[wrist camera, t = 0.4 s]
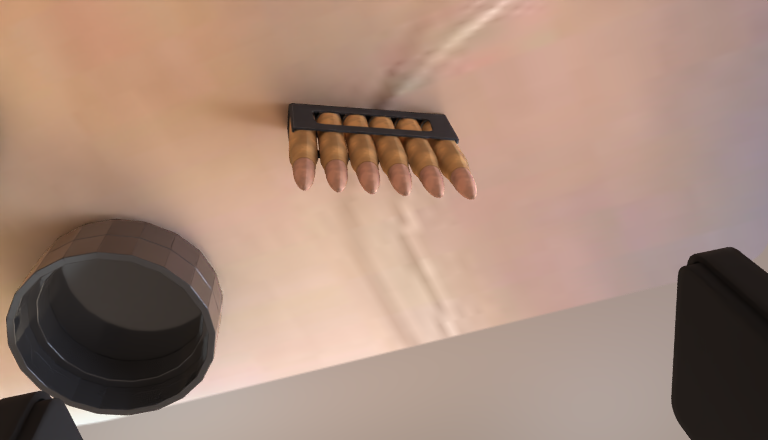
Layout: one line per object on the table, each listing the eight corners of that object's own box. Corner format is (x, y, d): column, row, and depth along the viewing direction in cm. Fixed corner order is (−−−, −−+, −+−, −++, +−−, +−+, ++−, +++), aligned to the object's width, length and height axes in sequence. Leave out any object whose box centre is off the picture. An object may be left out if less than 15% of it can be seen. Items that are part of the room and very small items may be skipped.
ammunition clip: (287, 129, 43) (284, 204, 33) (288, 103, 43) (286, 170, 32) (441, 140, 45) (487, 214, 34) (446, 114, 44) (493, 182, 34)
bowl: (7, 232, 44) (-29, 273, 39) (197, 199, 45) (185, 236, 40) (74, 378, 50) (50, 430, 45) (240, 348, 51) (235, 395, 46)
